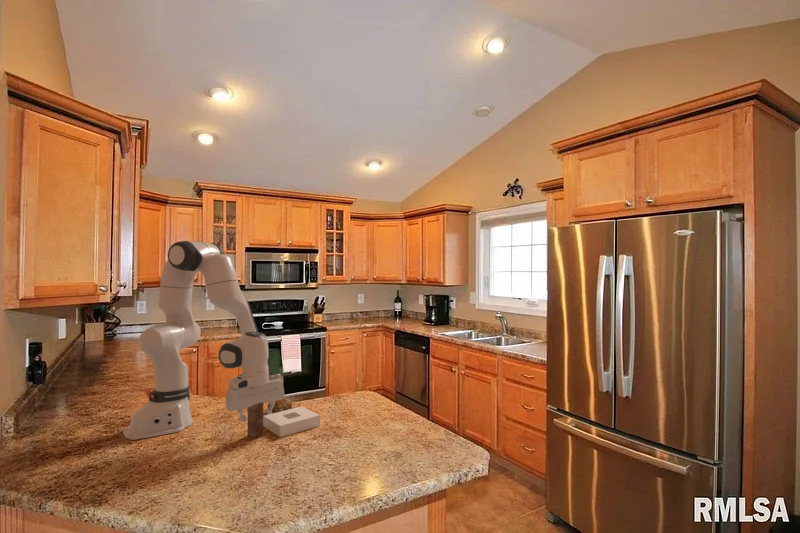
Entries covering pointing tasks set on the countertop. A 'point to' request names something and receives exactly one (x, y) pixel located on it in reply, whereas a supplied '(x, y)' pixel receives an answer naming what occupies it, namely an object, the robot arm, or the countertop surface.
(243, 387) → the robot arm
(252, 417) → the walnut peg
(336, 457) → the countertop surface
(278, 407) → the bread roll
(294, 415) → the socket block
